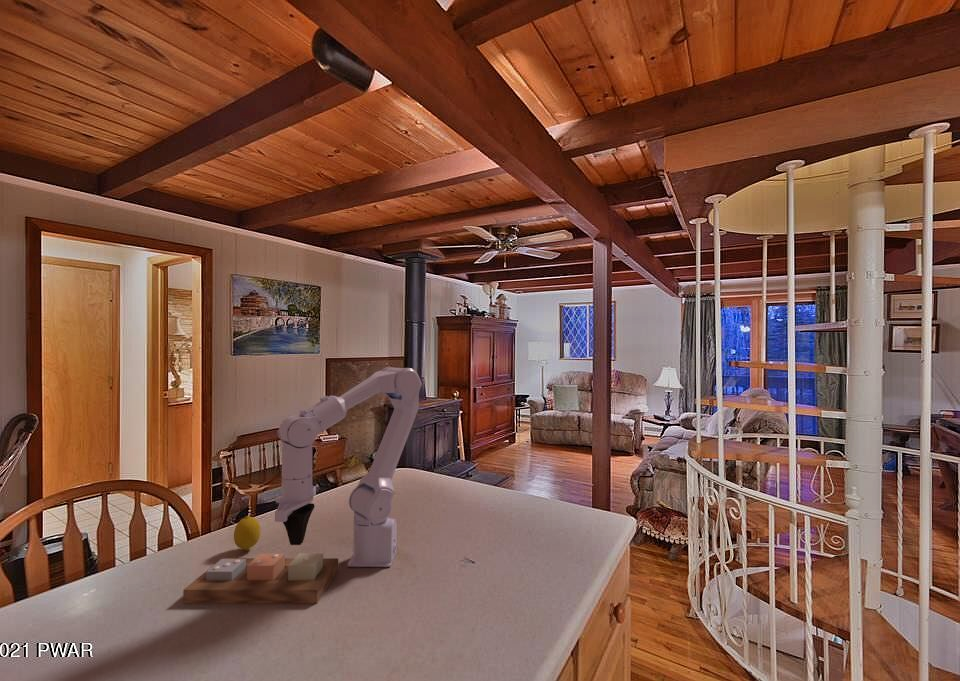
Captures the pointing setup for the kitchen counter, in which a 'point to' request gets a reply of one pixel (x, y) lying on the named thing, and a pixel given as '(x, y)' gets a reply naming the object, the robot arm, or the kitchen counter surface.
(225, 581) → the button board
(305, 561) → the tile one
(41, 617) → the kitchen counter surface
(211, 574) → the tile three
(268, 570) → the tile two
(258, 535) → the lemon
